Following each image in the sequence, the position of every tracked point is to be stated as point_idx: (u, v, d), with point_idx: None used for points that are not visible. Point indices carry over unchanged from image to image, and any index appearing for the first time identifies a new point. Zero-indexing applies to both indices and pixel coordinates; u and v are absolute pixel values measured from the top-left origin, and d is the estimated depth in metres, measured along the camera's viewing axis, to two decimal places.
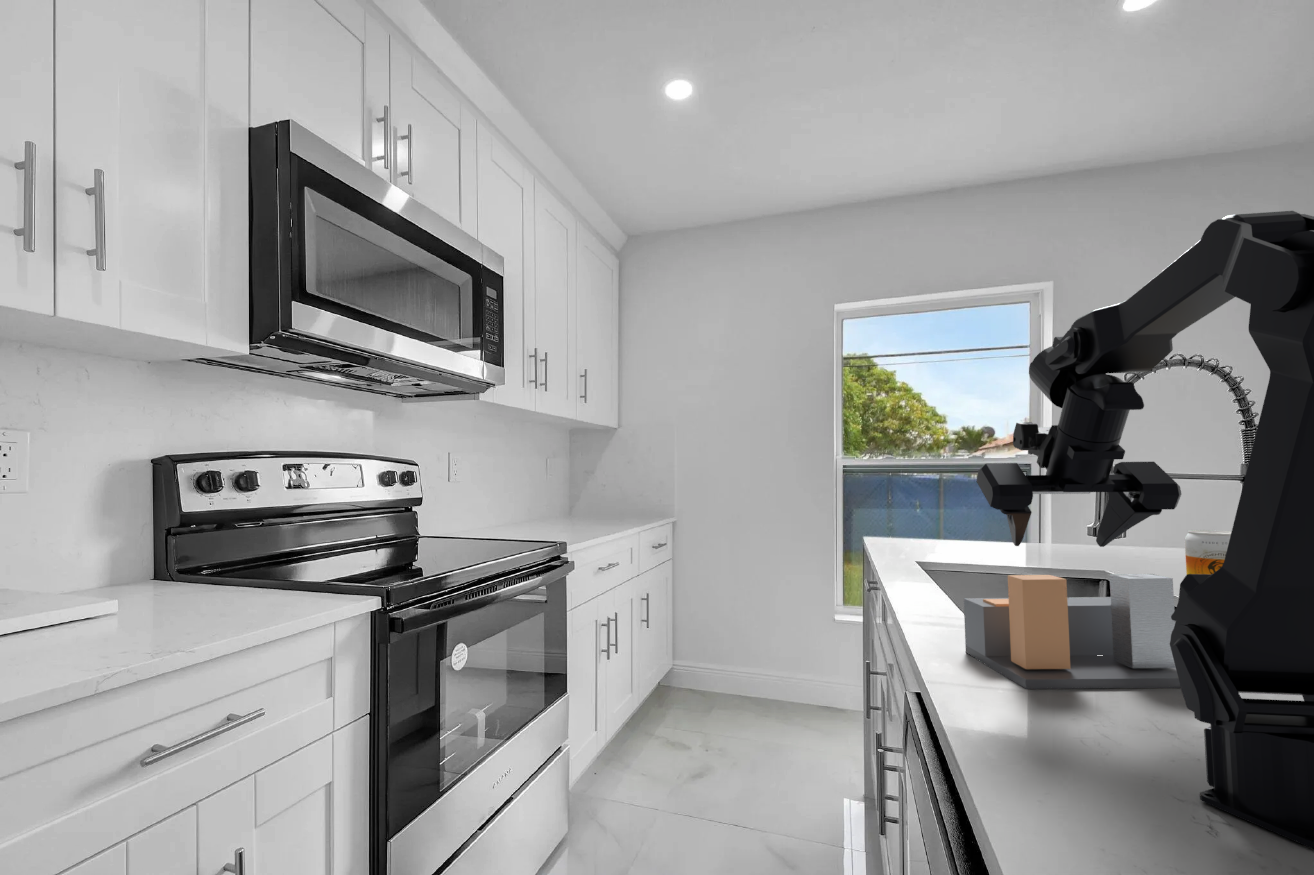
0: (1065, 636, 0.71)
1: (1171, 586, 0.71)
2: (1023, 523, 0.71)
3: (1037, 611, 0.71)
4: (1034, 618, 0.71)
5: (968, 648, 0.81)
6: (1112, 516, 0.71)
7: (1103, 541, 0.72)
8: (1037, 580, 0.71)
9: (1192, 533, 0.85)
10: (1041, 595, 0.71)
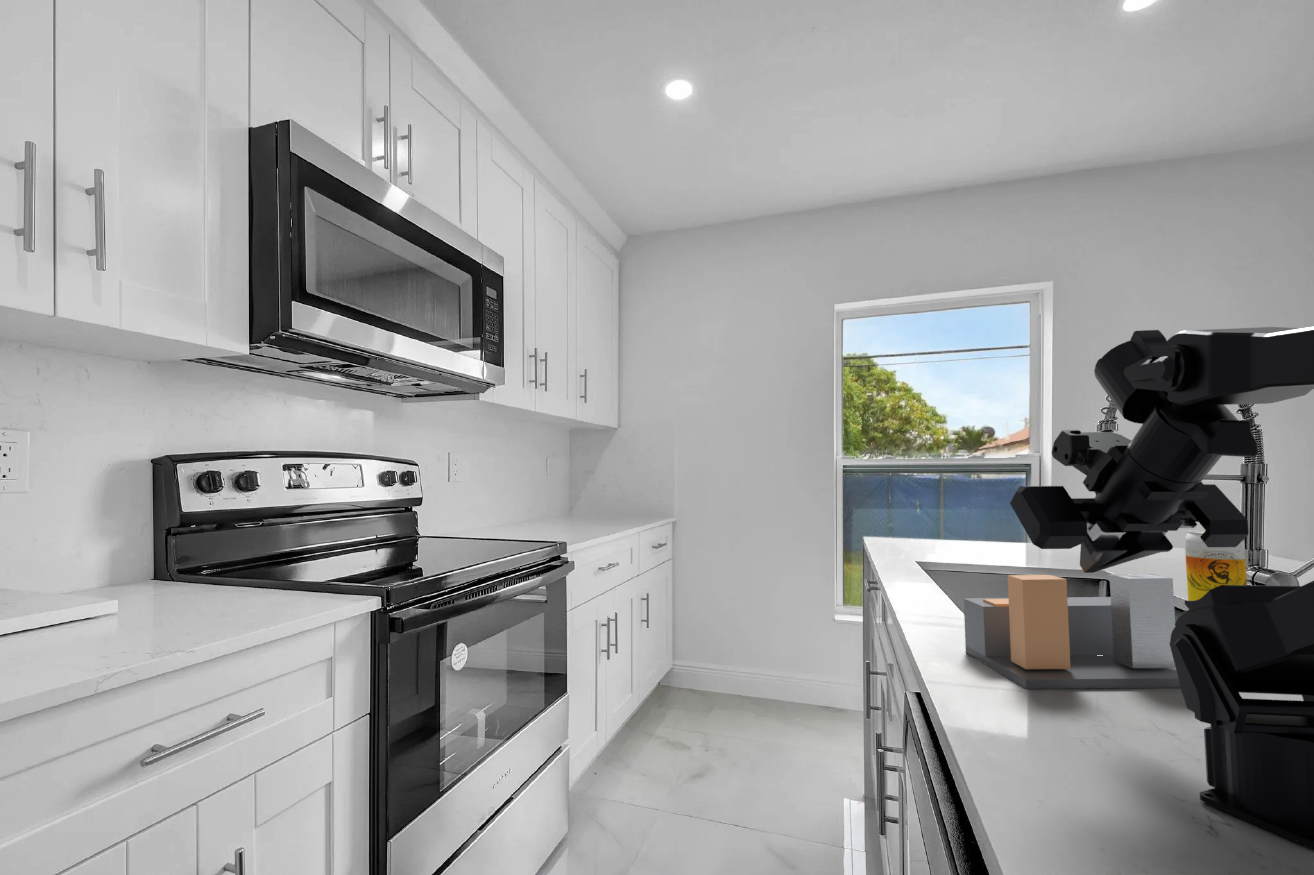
0: (1065, 636, 0.71)
1: (1171, 586, 0.71)
2: (1110, 558, 0.59)
3: (1037, 611, 0.71)
4: (1034, 618, 0.71)
5: (968, 648, 0.81)
6: None
7: (1094, 568, 0.63)
8: (1037, 580, 0.71)
9: (1192, 533, 0.85)
10: (1041, 595, 0.71)
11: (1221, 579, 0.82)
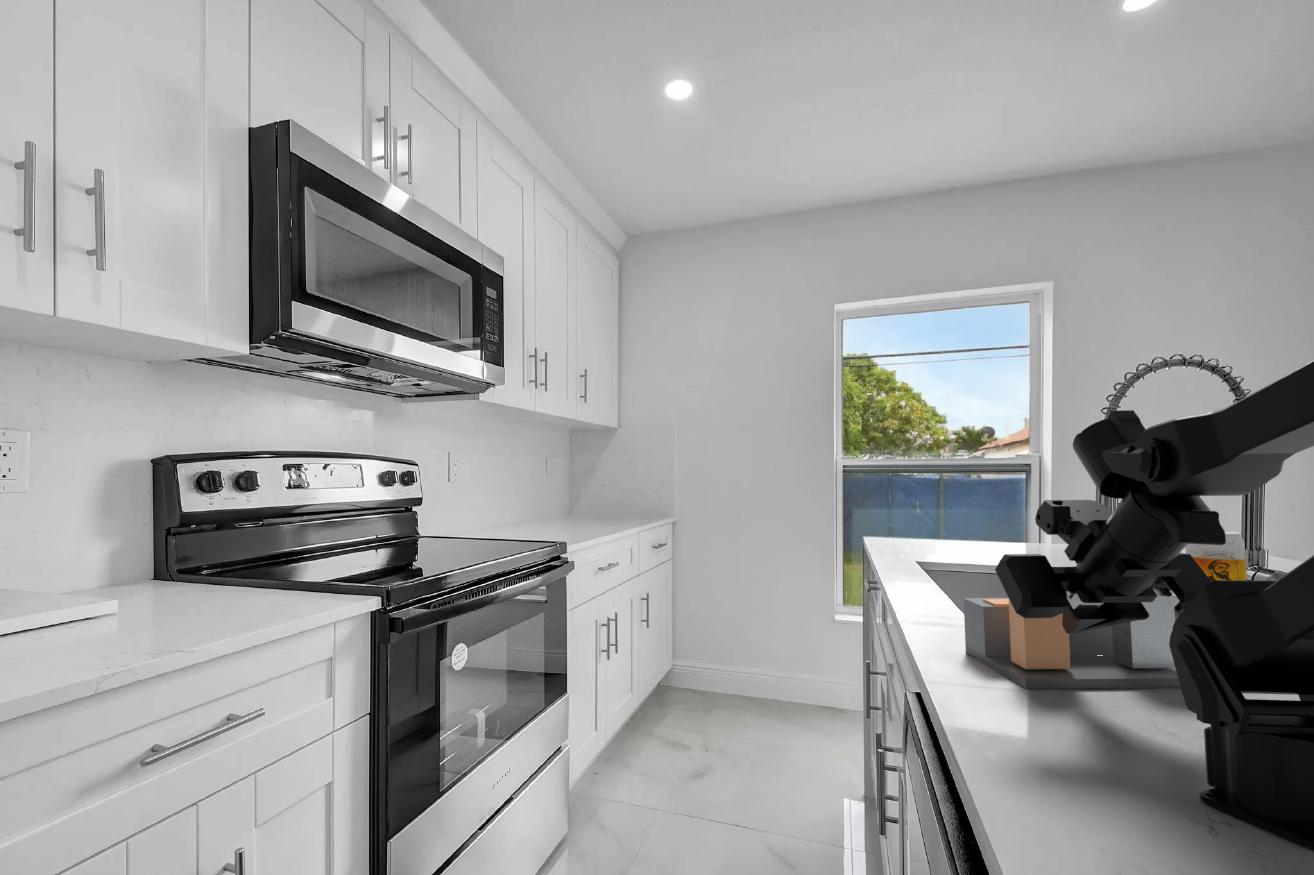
0: (1065, 636, 0.71)
1: None
2: (1090, 624, 0.62)
3: None
4: (1034, 618, 0.71)
5: (968, 648, 0.81)
6: None
7: None
8: None
9: None
10: None
11: (1221, 579, 0.82)
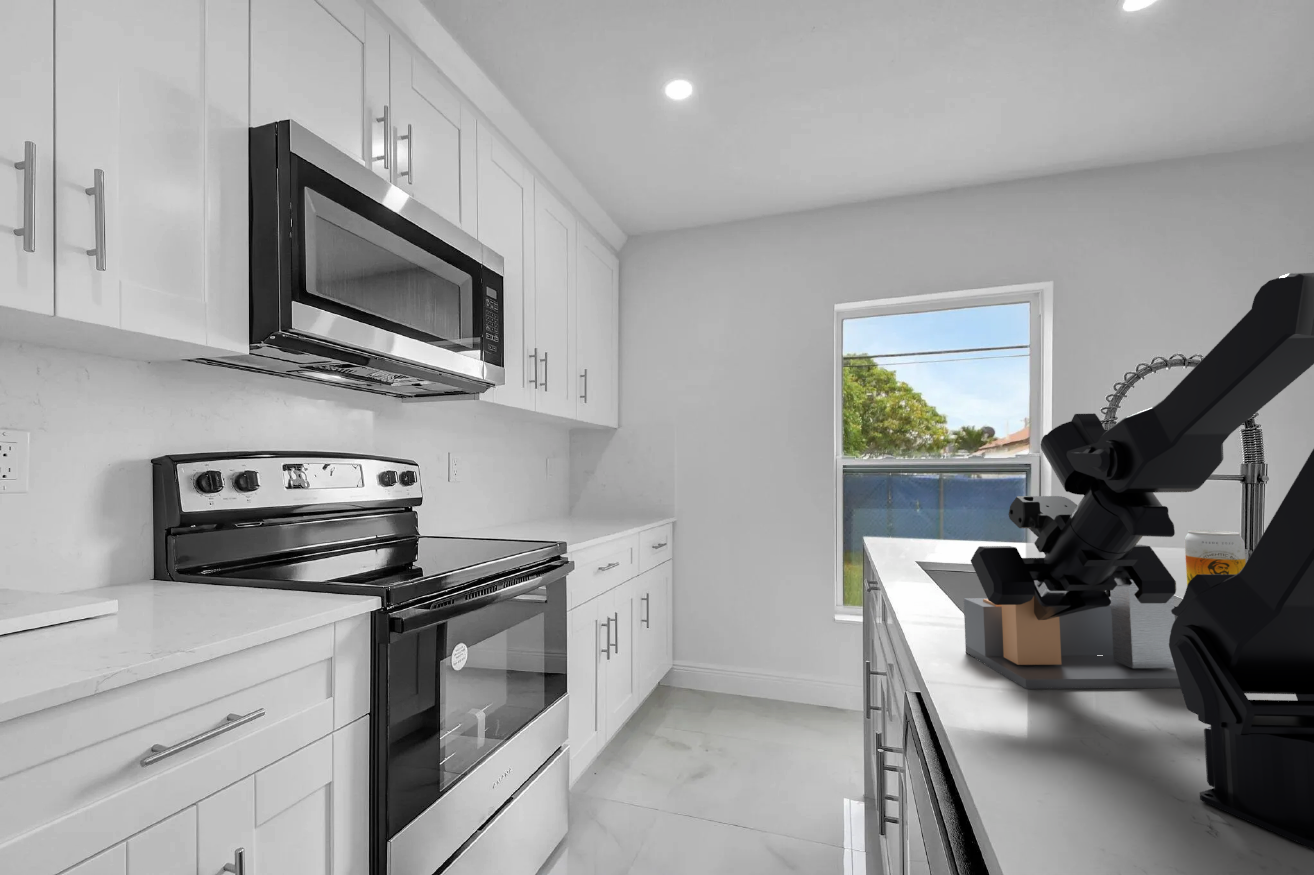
0: (1056, 632, 0.72)
1: None
2: (1057, 610, 0.67)
3: (1029, 608, 0.72)
4: (1026, 615, 0.72)
5: (968, 648, 0.81)
6: None
7: (1045, 616, 0.71)
8: None
9: (1192, 533, 0.85)
10: None
11: None
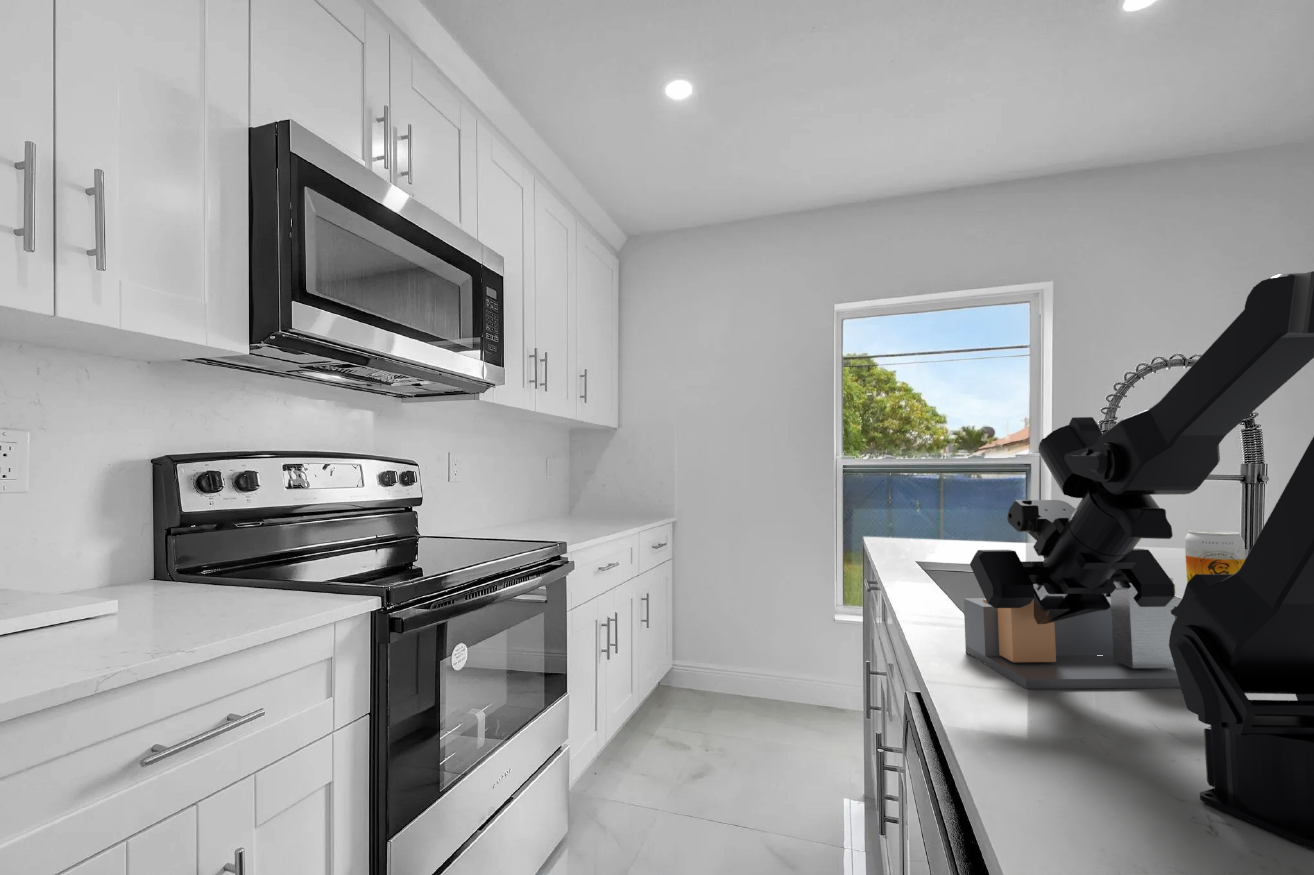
0: (1051, 630, 0.73)
1: None
2: (1057, 614, 0.67)
3: (1024, 606, 0.73)
4: (1021, 613, 0.73)
5: (968, 648, 0.81)
6: None
7: (1045, 620, 0.71)
8: None
9: (1192, 533, 0.85)
10: None
11: None
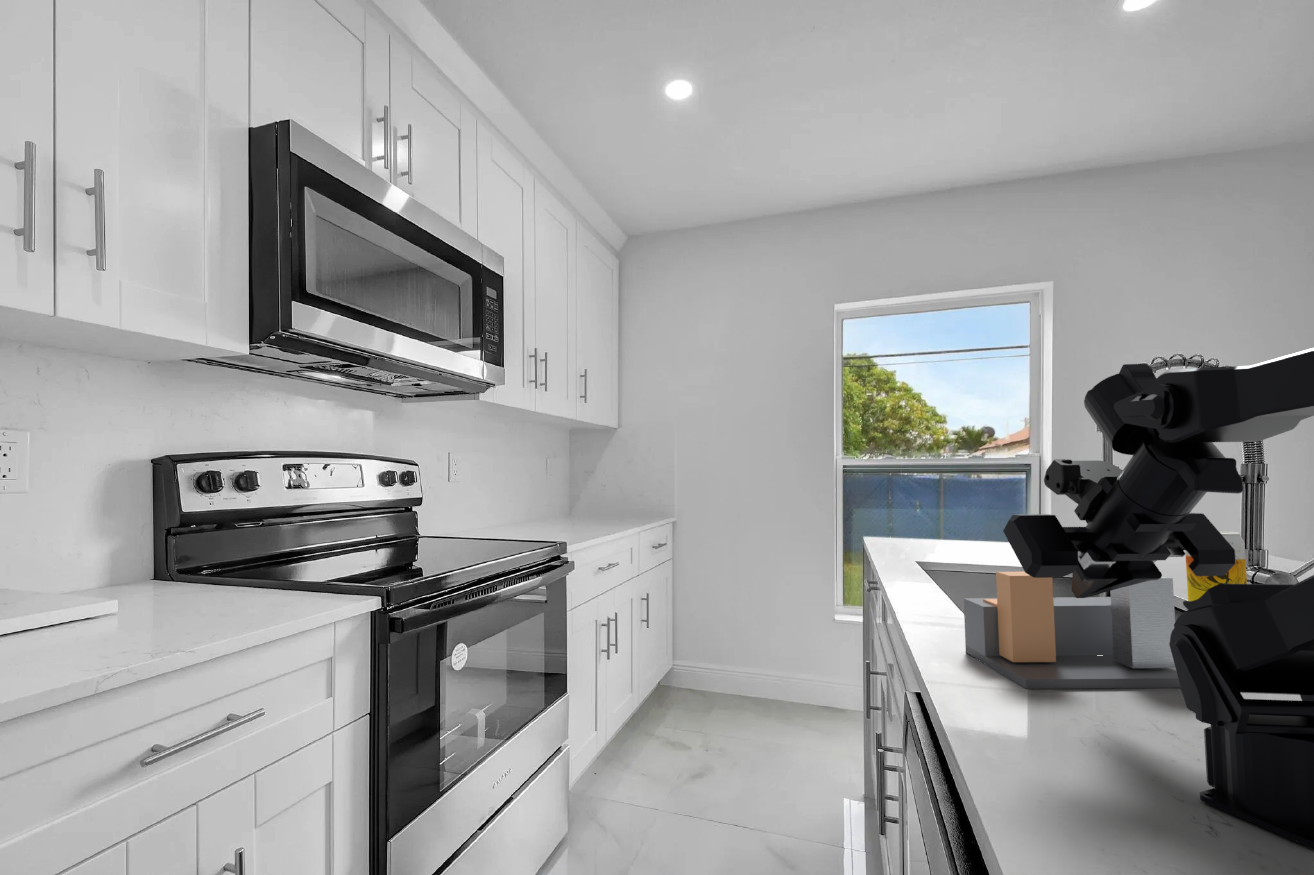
0: (1051, 630, 0.73)
1: (1171, 586, 0.71)
2: (1101, 585, 0.60)
3: (1024, 606, 0.73)
4: (1021, 613, 0.73)
5: (968, 648, 0.81)
6: None
7: (1085, 594, 0.64)
8: (1024, 576, 0.73)
9: None
10: (1028, 591, 0.73)
11: (1221, 579, 0.82)
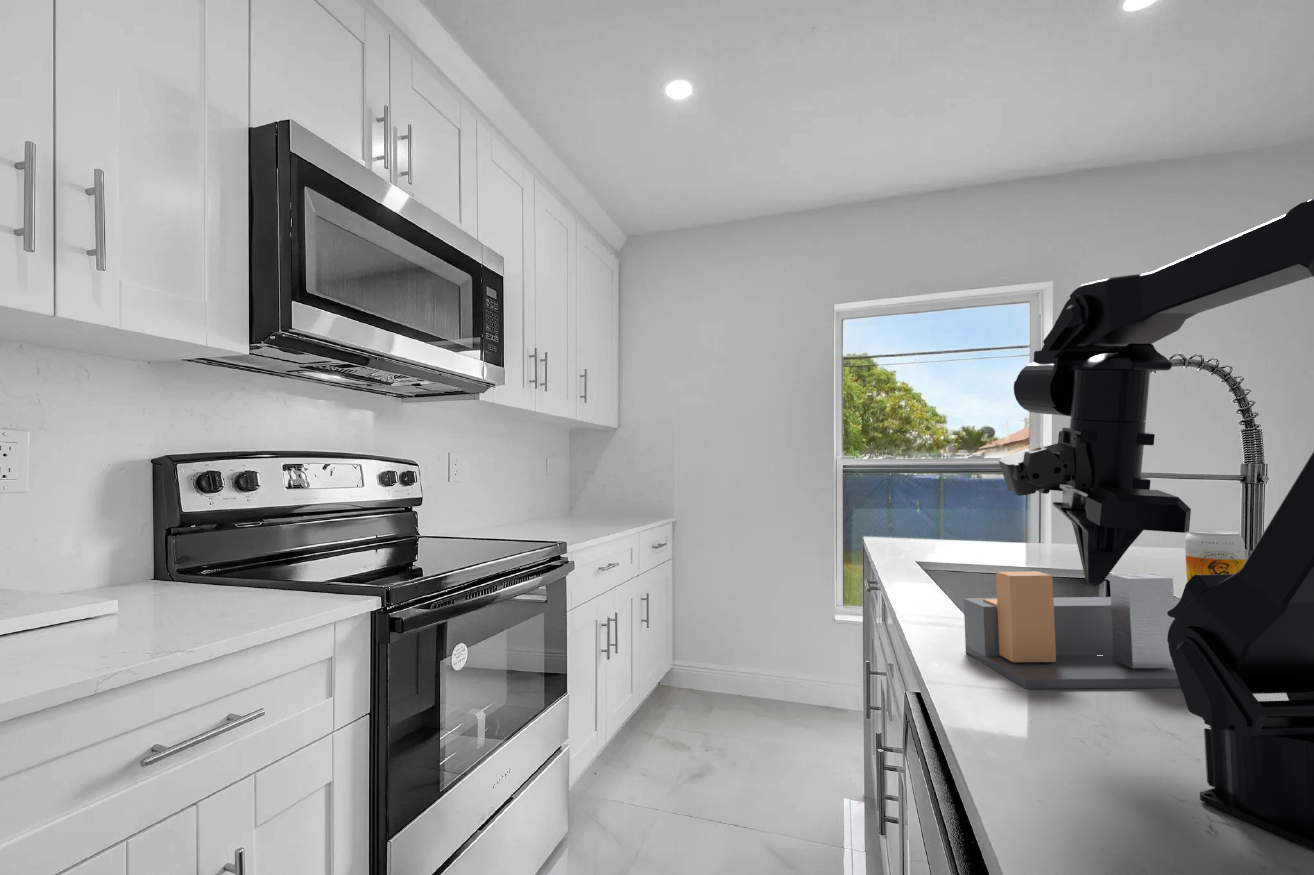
0: (1051, 630, 0.73)
1: (1171, 586, 0.71)
2: None
3: (1024, 606, 0.73)
4: (1021, 613, 0.73)
5: (968, 648, 0.81)
6: None
7: None
8: (1024, 576, 0.73)
9: (1192, 533, 0.85)
10: (1028, 591, 0.73)
11: None
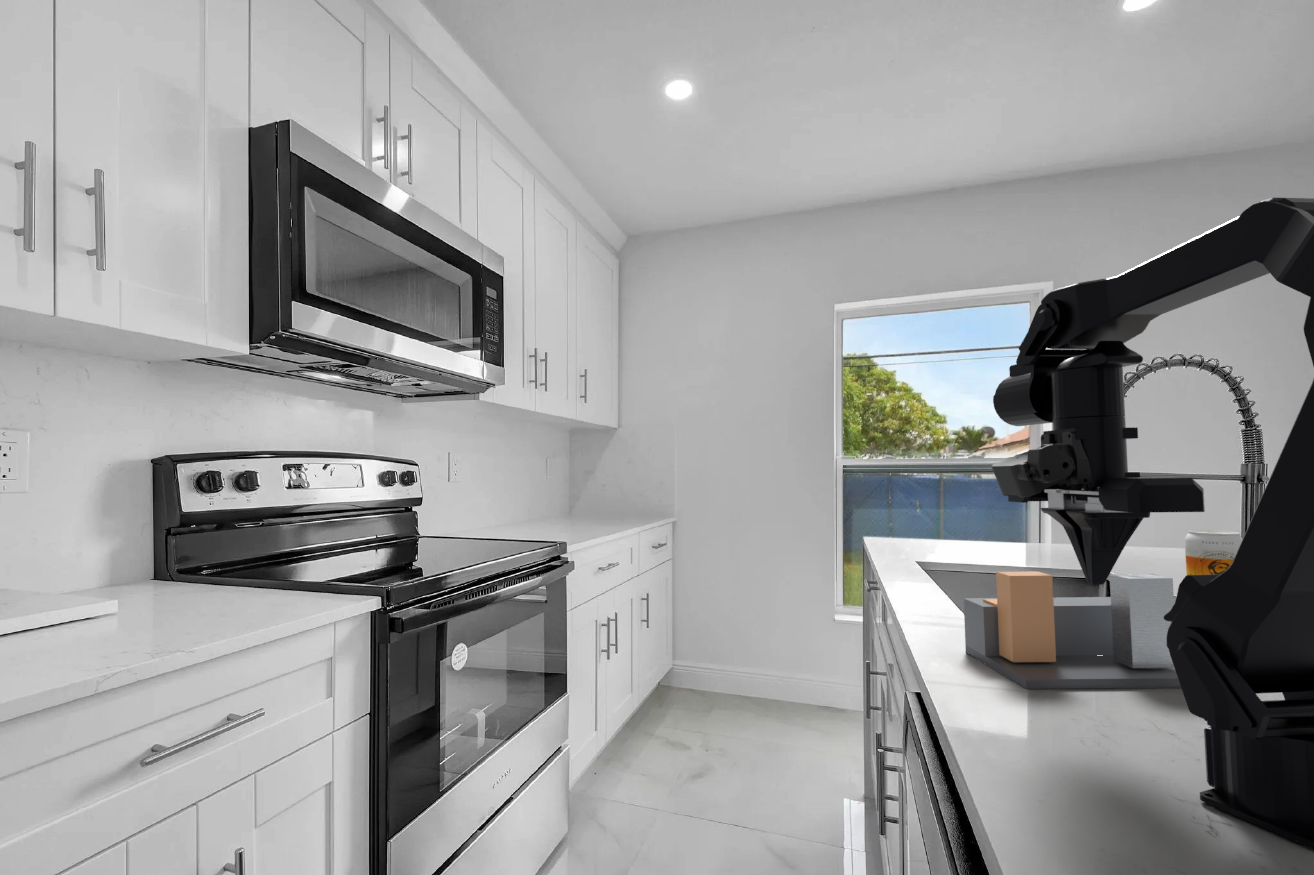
0: (1051, 630, 0.73)
1: (1171, 586, 0.71)
2: None
3: (1024, 606, 0.73)
4: (1021, 613, 0.73)
5: (968, 648, 0.81)
6: None
7: None
8: (1024, 576, 0.73)
9: (1192, 533, 0.85)
10: (1028, 591, 0.73)
11: None
